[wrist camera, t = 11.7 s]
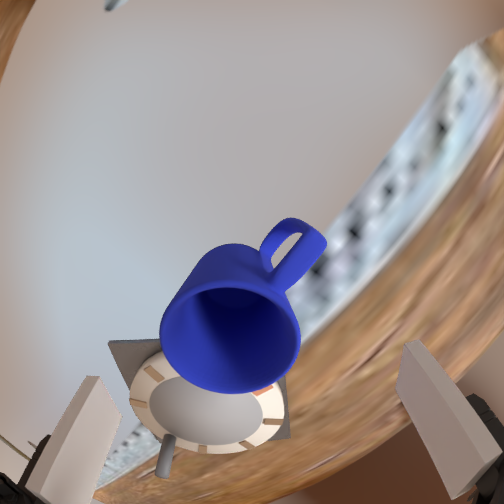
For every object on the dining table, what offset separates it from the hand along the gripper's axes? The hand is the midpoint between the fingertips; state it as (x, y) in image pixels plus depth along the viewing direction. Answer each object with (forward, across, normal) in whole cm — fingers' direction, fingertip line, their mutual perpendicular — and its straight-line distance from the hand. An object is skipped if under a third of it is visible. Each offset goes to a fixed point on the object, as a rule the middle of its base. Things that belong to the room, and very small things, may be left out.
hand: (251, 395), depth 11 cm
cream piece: (+15, -7, -16) cm, 23 cm away
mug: (+15, 0, 0) cm, 15 cm away
